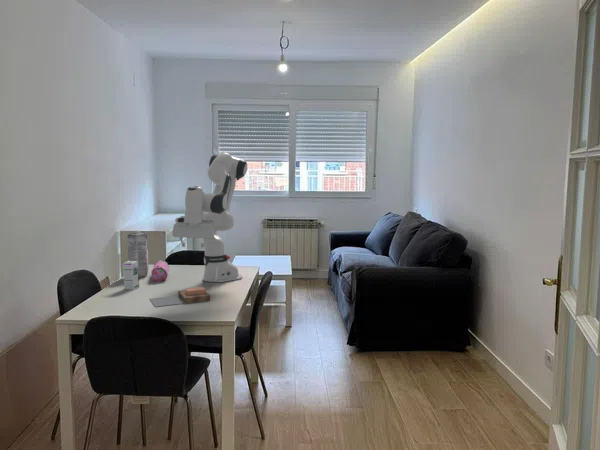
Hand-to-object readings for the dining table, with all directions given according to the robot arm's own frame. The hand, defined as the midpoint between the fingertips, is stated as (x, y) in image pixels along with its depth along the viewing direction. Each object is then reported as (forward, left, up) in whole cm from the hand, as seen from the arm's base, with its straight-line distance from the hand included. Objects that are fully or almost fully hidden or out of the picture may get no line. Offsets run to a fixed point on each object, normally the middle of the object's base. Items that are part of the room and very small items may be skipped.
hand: (193, 246), depth 258 cm
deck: (+2, +5, -25) cm, 25 cm away
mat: (+15, +5, -25) cm, 29 cm away
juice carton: (+19, -61, -25) cm, 68 cm away
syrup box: (+27, -31, -25) cm, 48 cm away
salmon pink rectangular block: (+1, +5, -22) cm, 23 cm away
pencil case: (+8, -50, -25) cm, 56 cm away
